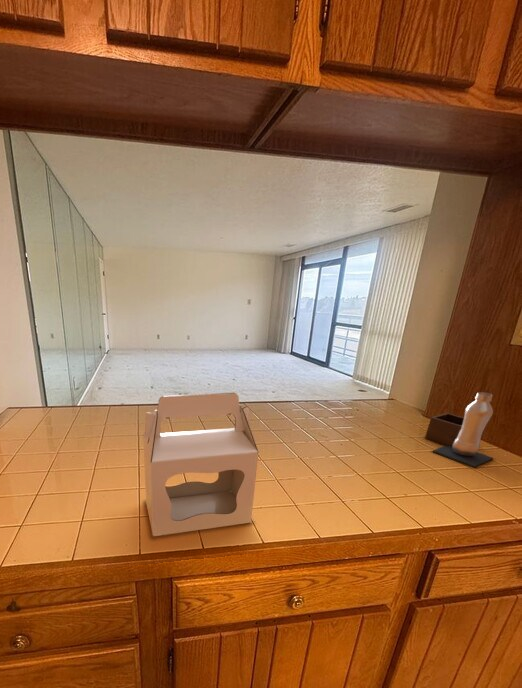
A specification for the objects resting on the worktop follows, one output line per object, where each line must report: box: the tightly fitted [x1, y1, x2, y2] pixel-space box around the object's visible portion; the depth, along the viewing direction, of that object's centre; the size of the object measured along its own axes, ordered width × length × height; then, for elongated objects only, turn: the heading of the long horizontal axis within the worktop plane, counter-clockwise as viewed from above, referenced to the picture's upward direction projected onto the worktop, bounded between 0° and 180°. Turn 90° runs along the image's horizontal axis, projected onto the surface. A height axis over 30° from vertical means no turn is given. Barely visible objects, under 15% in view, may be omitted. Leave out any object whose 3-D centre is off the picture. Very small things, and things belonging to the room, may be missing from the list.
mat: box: [432, 445, 494, 469], centre depth 111 cm, size 12×12×1 cm
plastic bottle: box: [452, 391, 494, 456], centre depth 107 cm, size 6×7×20 cm
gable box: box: [142, 392, 259, 537], centre depth 74 cm, size 22×13×28 cm, turn 104°
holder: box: [424, 412, 464, 446], centre depth 121 cm, size 11×10×8 cm
